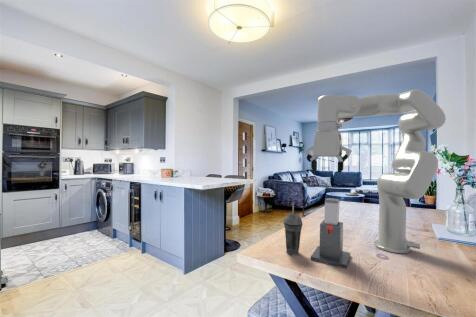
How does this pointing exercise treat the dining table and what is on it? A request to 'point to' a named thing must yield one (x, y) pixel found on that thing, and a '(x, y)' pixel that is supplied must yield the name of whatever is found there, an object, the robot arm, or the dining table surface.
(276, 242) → the dining table surface
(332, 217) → the column
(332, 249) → the stand
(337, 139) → the robot arm
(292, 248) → the beverage cup
